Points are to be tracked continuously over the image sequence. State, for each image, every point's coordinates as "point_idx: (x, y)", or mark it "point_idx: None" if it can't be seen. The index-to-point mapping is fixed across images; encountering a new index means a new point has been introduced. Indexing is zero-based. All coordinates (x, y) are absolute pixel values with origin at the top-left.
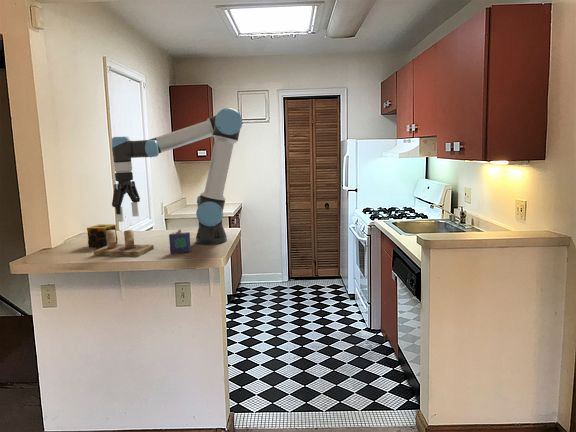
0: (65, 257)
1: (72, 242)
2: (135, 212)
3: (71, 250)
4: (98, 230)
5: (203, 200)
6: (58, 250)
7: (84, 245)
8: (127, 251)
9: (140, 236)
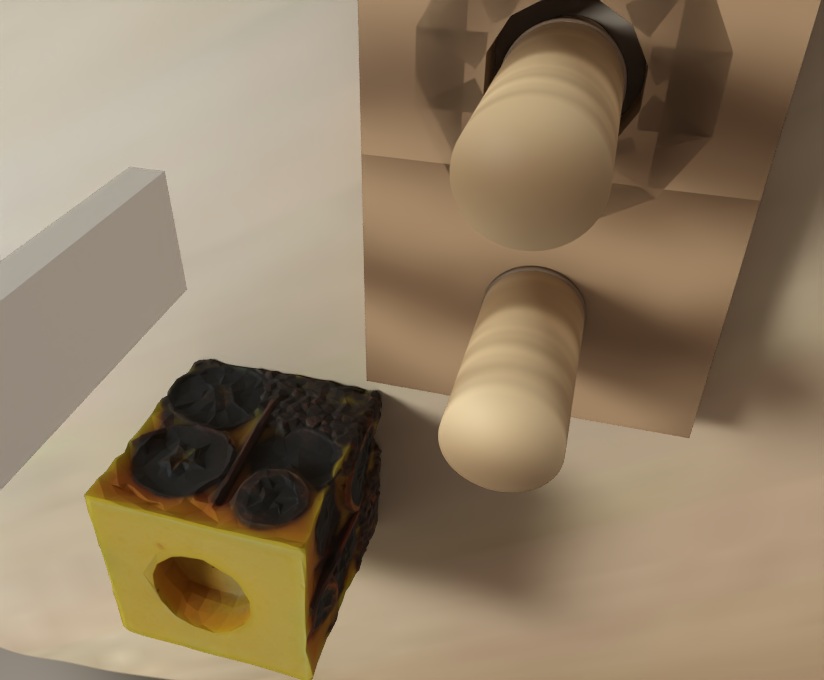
0: (721, 590)
1: None
2: (123, 265)
3: (466, 605)
4: (312, 578)
5: None
6: (466, 671)
7: None
8: (796, 22)
9: None
